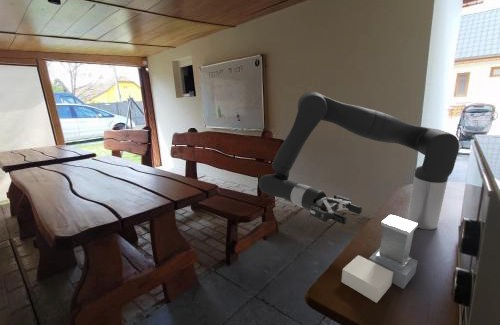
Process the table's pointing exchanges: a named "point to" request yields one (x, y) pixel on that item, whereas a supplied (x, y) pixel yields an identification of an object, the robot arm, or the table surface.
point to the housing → (396, 241)
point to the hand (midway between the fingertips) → (353, 215)
